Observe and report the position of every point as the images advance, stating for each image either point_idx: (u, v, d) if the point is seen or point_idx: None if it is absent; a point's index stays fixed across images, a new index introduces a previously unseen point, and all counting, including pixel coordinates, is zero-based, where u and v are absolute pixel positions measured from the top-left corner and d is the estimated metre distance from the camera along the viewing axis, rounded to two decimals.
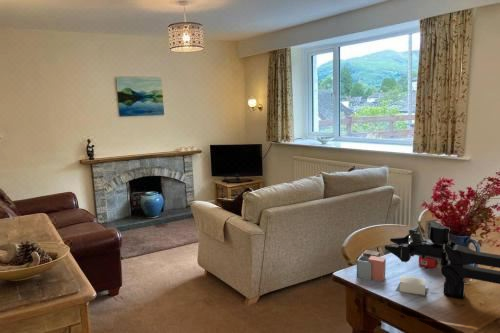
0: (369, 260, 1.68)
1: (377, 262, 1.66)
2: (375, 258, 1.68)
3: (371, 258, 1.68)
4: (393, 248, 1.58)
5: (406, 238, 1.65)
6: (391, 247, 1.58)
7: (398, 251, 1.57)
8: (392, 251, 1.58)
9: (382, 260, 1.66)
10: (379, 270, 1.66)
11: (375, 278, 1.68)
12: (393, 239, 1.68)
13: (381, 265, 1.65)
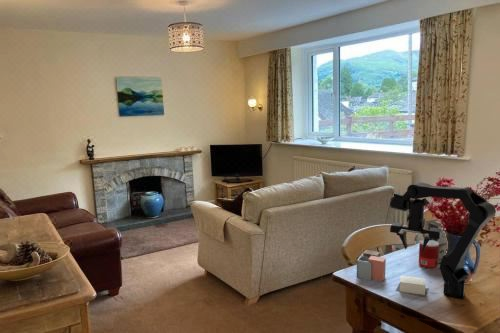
0: (369, 260, 1.68)
1: (377, 262, 1.66)
2: (375, 258, 1.68)
3: (371, 258, 1.68)
4: None
5: None
6: None
7: None
8: None
9: (382, 260, 1.66)
10: (379, 270, 1.66)
11: (375, 278, 1.68)
12: None
13: (381, 265, 1.65)
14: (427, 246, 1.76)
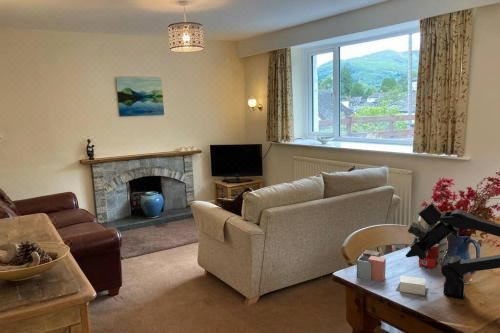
0: (369, 260, 1.68)
1: (377, 262, 1.66)
2: (375, 258, 1.68)
3: (371, 258, 1.68)
4: (411, 251, 1.59)
5: None
6: (410, 252, 1.59)
7: None
8: (413, 254, 1.59)
9: (382, 260, 1.66)
10: (379, 270, 1.66)
11: (375, 278, 1.68)
12: None
13: (381, 265, 1.65)
14: None
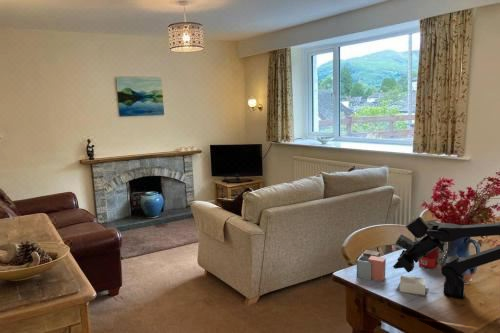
0: (369, 260, 1.68)
1: (377, 262, 1.66)
2: (375, 258, 1.68)
3: (371, 258, 1.68)
4: (399, 263, 1.62)
5: None
6: (397, 263, 1.63)
7: None
8: (400, 266, 1.62)
9: (382, 260, 1.66)
10: (379, 270, 1.66)
11: (375, 278, 1.68)
12: None
13: (381, 265, 1.65)
14: None
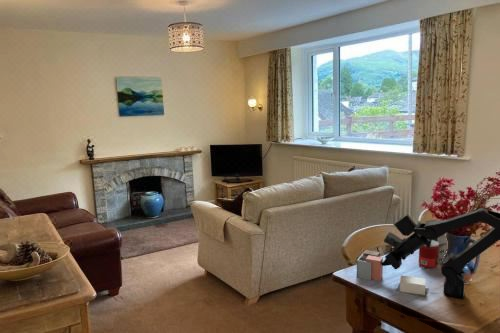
0: (366, 259, 1.68)
1: (374, 261, 1.67)
2: (372, 257, 1.69)
3: (368, 257, 1.69)
4: (387, 260, 1.64)
5: None
6: (385, 260, 1.65)
7: None
8: (388, 263, 1.64)
9: (379, 259, 1.67)
10: (376, 270, 1.67)
11: (372, 277, 1.68)
12: None
13: (378, 264, 1.66)
14: None
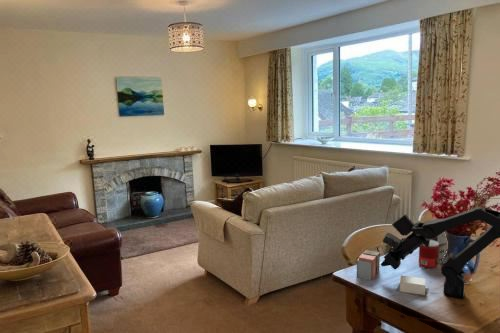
0: (359, 258, 1.70)
1: (367, 260, 1.68)
2: (365, 256, 1.70)
3: (361, 256, 1.71)
4: (386, 260, 1.65)
5: None
6: (384, 261, 1.65)
7: None
8: (388, 263, 1.65)
9: (372, 258, 1.68)
10: None
11: None
12: None
13: None
14: None
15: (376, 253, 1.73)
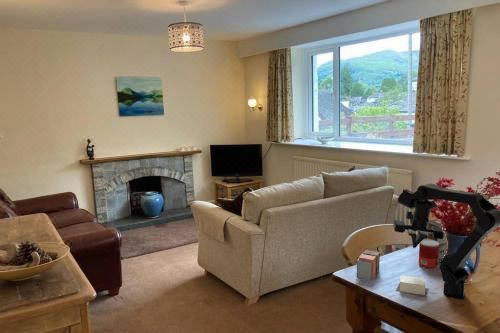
0: (359, 258, 1.70)
1: (367, 260, 1.68)
2: (365, 256, 1.70)
3: (361, 256, 1.71)
4: None
5: (418, 232, 1.66)
6: None
7: None
8: (412, 241, 1.66)
9: (372, 258, 1.68)
10: None
11: None
12: None
13: None
14: (427, 246, 1.76)
15: (376, 253, 1.73)
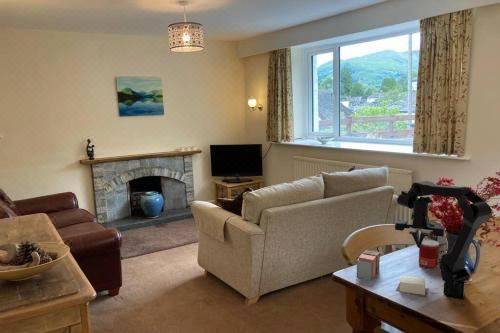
0: (359, 258, 1.70)
1: (367, 260, 1.68)
2: (365, 256, 1.70)
3: (361, 256, 1.71)
4: None
5: None
6: None
7: None
8: None
9: (372, 258, 1.68)
10: None
11: None
12: None
13: None
14: (427, 246, 1.76)
15: (376, 253, 1.73)
